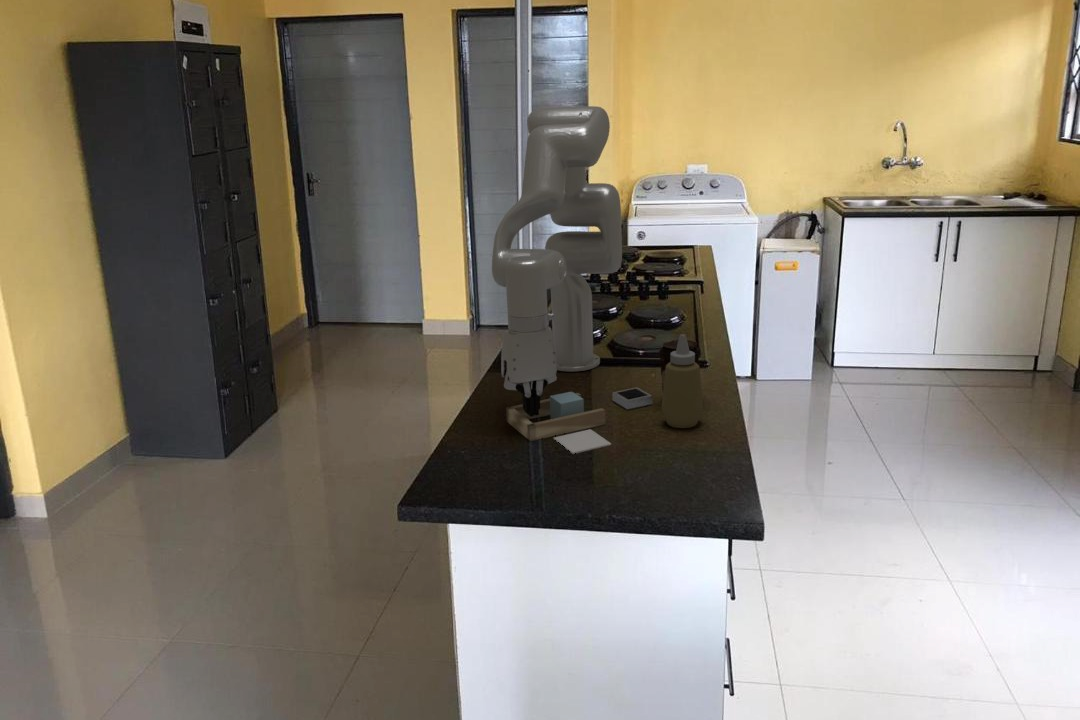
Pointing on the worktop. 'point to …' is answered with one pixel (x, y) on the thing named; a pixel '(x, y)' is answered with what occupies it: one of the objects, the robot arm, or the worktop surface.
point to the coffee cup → (671, 347)
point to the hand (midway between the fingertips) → (531, 413)
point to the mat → (582, 441)
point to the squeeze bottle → (682, 388)
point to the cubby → (552, 421)
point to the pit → (632, 398)
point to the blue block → (565, 405)
